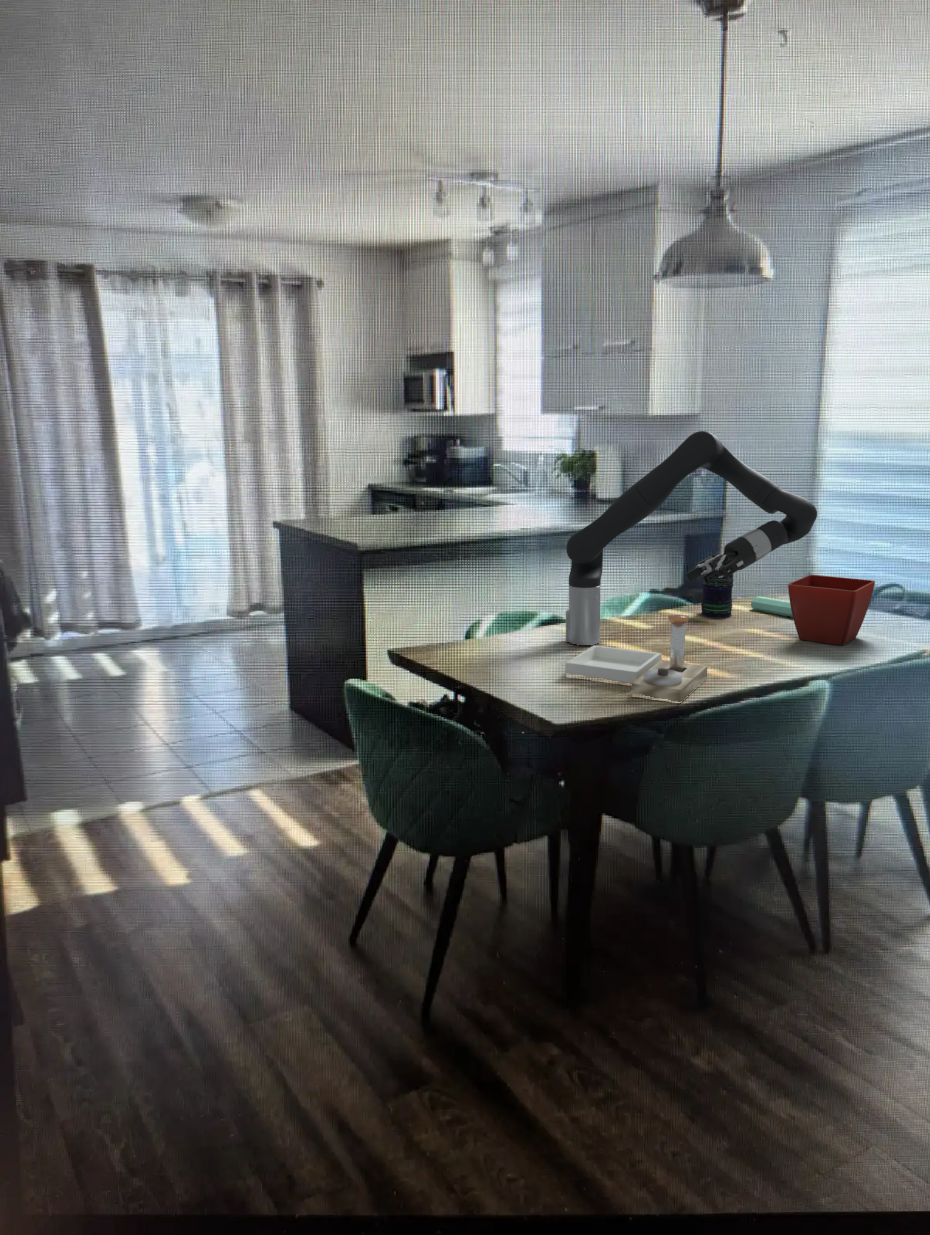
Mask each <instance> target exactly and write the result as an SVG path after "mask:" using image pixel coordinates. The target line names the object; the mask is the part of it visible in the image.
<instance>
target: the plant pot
mask: <svg viewBox="0 0 930 1235" xmlns="http://www.w3.org/2000/svg"><path fill="white" fill-rule="evenodd" d="M875 585H876V581H875V580H871V579H863V578H851V577H841V576H832V575H831V576H830V575H818V574H817V575H816V574H808V575H805V576H804V577H801V578H799V579H796V580H794V581H791V582H790V583H788V584H787V588H788V589H787V590H788V597H789V601H790V606H791V611H792V615H793V617H792V619H793V623H794V627H795V630H796V633H797V636H798V639H799V640H803V641H808V642H809V641H810V642H817V643H825V644H831V645H839V646H843V645H845V644H848V643H849V642H850V641H852V640H854V639H855V638H857V636H858V634H859V632H860V629H861V628H862V625H863V623H864V621H865V618H866V615H867V613H868V609H869V606H870V604H871V600H872V598H873V597H872V596H873V592H874V589H875Z"/></svg>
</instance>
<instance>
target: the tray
mask: <svg viewBox="0 0 930 1235" xmlns="http://www.w3.org/2000/svg"><path fill="white" fill-rule="evenodd" d="M661 660H662V653H660V652H653V651H645V650H637V649H628V648H627V649H626V648H620V647H612V646H611V647H610V646H602V645H597V644H596V645H591V647H589V648H587V649H586V650H584V651H583V652H581V653H579V654H577V655H576V656H574V657H572V658H571V659H569V660H567V661H565V674H566V673H569V674H577V675H583V676H587V677H598V678H603V679H607V680H612V681H619V682H623V683H630V684H632V682H634V681H635V680H636V679H638V678H639V677H640V676H641V675H643V674H644V672H646V671H648V670H649V669H651V668H652V667H653V666H654V665H656V664H657V663H658V662H660V661H661Z"/></svg>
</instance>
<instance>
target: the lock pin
mask: <svg viewBox="0 0 930 1235" xmlns="http://www.w3.org/2000/svg"><path fill="white" fill-rule="evenodd" d="M668 622H670V623H671V624H670V648H669V649H670V651H669V653H670V655H669V656H670V657H669V661H670V670H674V671H677V672H683V671H684V663H685V647H686V646H685V644H686V623H688V622H689V615H687V614H686V615H685V614H680V613H678V614H676V613H675V614H674V613H673V614H669V615H668Z"/></svg>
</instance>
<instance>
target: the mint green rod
mask: <svg viewBox="0 0 930 1235" xmlns="http://www.w3.org/2000/svg"><path fill="white" fill-rule="evenodd" d="M750 607H751V609H752V610H754V611H756V612H757V611H758V612H762V613H766V614H767V613H768V614H772V613H773V615H777V614H778V615H777V616H783V617H787V616H790V617H789V618H793V615H792V611H791V606H790V600H782V599H777V598H773V597H765V596H755V597H753V598H752V600H750Z"/></svg>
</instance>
